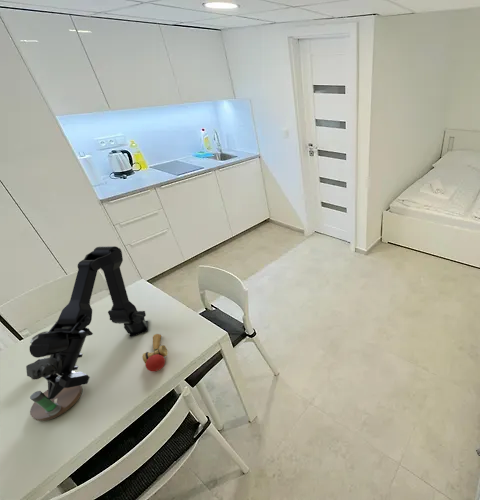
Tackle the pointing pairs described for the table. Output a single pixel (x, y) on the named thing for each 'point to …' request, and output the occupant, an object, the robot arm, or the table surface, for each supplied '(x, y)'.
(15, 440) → the table surface
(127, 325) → the robot arm
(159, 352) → the kendama
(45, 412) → the disc
